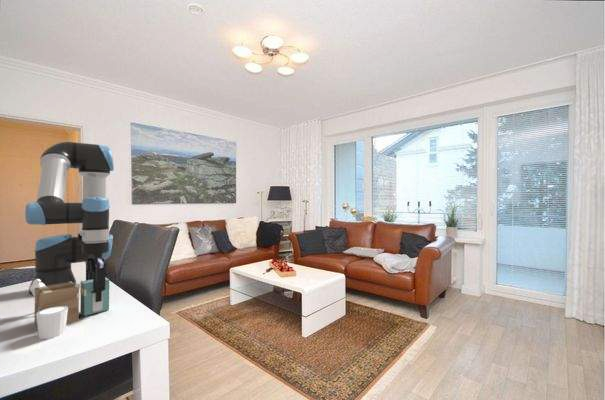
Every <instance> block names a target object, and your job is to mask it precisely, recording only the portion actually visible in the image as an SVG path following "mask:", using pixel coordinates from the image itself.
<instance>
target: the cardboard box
mask: <svg viewBox="0 0 605 400" xmlns="http://www.w3.org/2000/svg"><path fill="white" fill-rule="evenodd" d="M79 301H80V286H79V285H77V283H76V284H74V283H73V282H72V281H70V282H66V283H61V284H55V285H49V286H42V287H38V288H35V297H34V312H35V313H34V315H35V316H34V325H35V326H36V328H37V329H38V325H37V317H36V314H37V312H39V311H41V310H44V309H47V308H51V307H57V306H67V307H68V313H67V321H66V325H69V324H72V323H73V324H74V323H76V322H79V318H80V317H79V315H80V314H79V313H80V311H79V310H80V308H79V307H80V304H79V303H80V302H79Z"/></svg>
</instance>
